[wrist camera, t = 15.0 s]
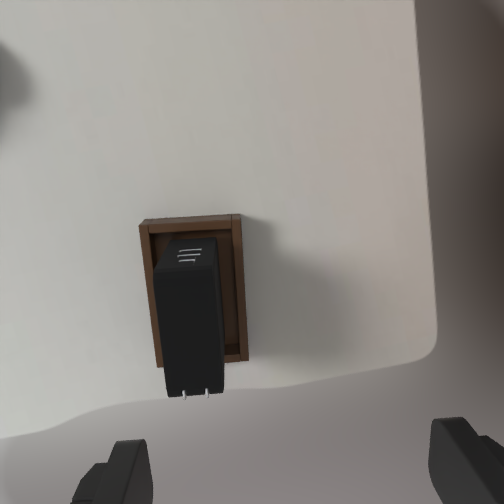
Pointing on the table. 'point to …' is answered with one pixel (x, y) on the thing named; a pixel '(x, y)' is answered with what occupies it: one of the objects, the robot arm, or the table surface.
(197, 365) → the electronic device
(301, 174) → the table surface
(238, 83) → the table surface
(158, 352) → the tray
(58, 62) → the table surface
